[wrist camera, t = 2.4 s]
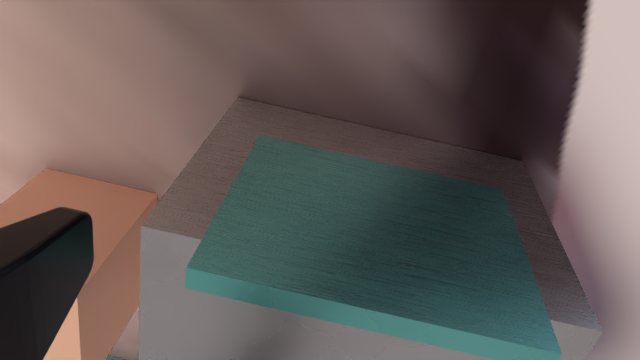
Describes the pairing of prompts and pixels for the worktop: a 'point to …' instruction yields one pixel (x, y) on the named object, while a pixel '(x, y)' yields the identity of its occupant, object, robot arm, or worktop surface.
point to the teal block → (112, 358)
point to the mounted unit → (353, 251)
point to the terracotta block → (109, 256)
